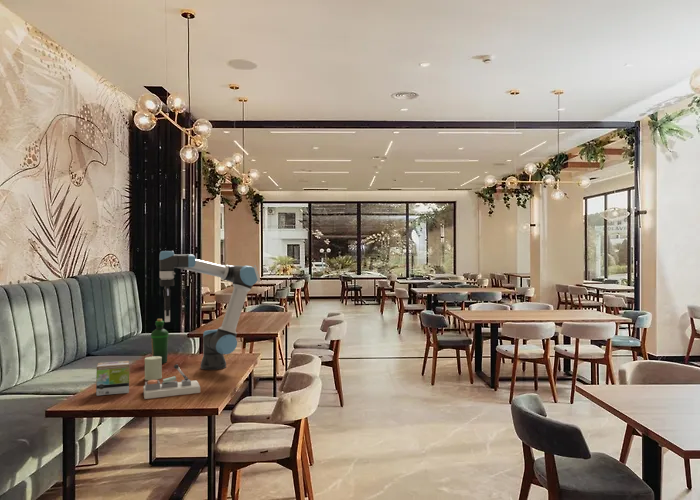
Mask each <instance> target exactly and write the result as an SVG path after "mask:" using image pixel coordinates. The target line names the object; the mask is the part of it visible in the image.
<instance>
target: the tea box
mask: <svg viewBox="0 0 700 500" xmlns="http://www.w3.org/2000/svg"><path fill="white" fill-rule="evenodd" d="M95 374H96V375H95V376H96V377H95V378H96V382H95V383H96V386H95V387H96V389H95V391H96V397H98V396H99V397H100V396H105V395H119V394H129V392H130V360H121V361H110V362H109V361H107V362H98V363H97V366H96V373H95Z"/></svg>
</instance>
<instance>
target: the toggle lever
mask: <svg viewBox="0 0 700 500" xmlns="http://www.w3.org/2000/svg"><path fill="white" fill-rule="evenodd" d="M173 368H174V369H175V370H177V371H178V372H179V374H180V375H181V376H182V378H184V379H183V380H188V379H189V378H188V376H187V375H186V374H185V373H184V372H183V370H181V369H180V367H179V364H177V363H176V364H174V366H173Z"/></svg>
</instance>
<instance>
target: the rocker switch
mask: <svg viewBox="0 0 700 500" xmlns="http://www.w3.org/2000/svg"><path fill="white" fill-rule="evenodd" d="M170 381H177V377H176V376H175V375H173V376H170V377H166V378H163V379H162V382H164V383H166V382H170Z"/></svg>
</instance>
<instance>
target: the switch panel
mask: <svg viewBox="0 0 700 500" xmlns="http://www.w3.org/2000/svg"><path fill="white" fill-rule="evenodd" d="M200 393H201V386H200V383H199V382H198V380H191V379H189V378H188V380H185V379H181V381H178V380H174V381H170V382H166V383H164V382H163V381H161V382H160V380H158V383H157V384H148V381H144V385H143V397H144V400H146V399H147V400H148V399H157V398H165V397H173V396H182V395H191V394H200Z"/></svg>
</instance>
